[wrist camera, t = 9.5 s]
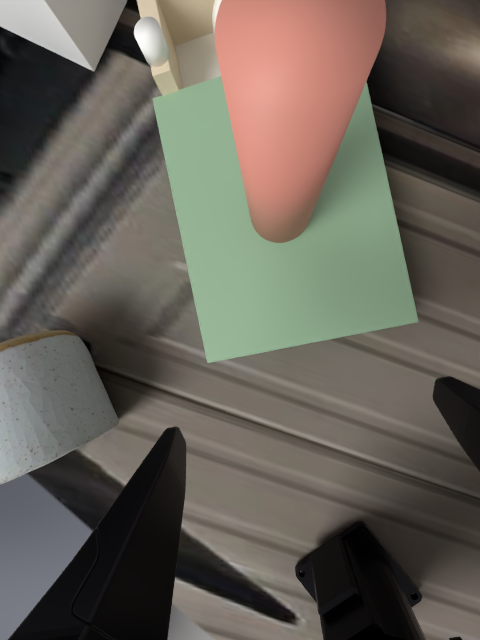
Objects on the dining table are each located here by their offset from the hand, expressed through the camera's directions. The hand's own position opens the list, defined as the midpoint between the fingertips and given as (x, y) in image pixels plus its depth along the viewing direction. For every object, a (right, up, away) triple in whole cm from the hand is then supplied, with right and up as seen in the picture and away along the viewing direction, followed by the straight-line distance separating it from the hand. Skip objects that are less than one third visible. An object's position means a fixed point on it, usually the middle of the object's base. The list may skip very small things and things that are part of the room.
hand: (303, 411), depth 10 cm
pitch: (+1, +11, +11) cm, 16 cm away
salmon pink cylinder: (0, +10, +9) cm, 14 cm away
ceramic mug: (-17, -3, +14) cm, 22 cm away
